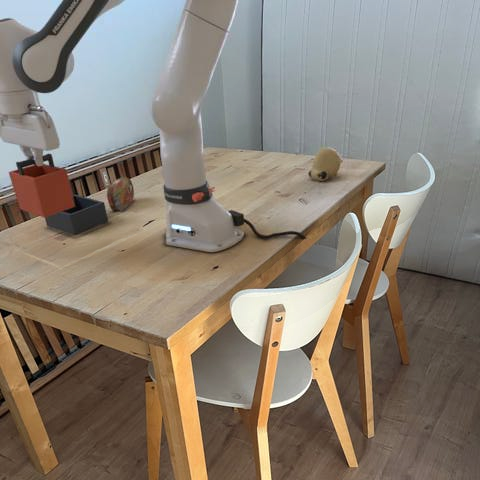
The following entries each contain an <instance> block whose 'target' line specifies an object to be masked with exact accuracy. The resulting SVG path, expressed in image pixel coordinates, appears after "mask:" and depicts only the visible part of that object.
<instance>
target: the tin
mask: <svg viewBox="0 0 480 480" xmlns="http://www.w3.org/2000/svg"><path fill="white" fill-rule="evenodd" d="M134 197H135V191H134V185H133V182H132V180H131V179H130V178H129V176H124V177H119V178H118V179H116V180H115V181H114V182H112V183H111V184H110V185H109V186H108V188H107V191H106V198H107V203H108V205H109V209H111V210H112V211H114V212H115V211H119V212H121V210H122V208H124V207H125V206H126V205H127V204H132V202H133V200H134Z"/></svg>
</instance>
